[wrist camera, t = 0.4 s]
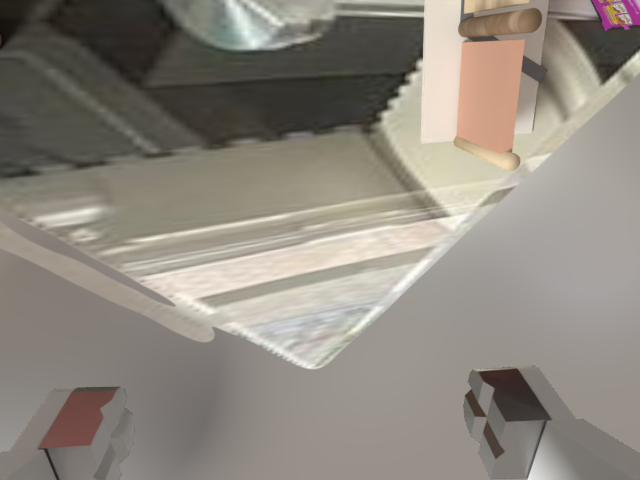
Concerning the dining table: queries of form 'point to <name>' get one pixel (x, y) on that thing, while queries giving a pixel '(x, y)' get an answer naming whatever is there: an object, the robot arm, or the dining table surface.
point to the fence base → (498, 19)
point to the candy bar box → (618, 13)
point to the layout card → (446, 61)
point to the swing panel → (489, 100)
